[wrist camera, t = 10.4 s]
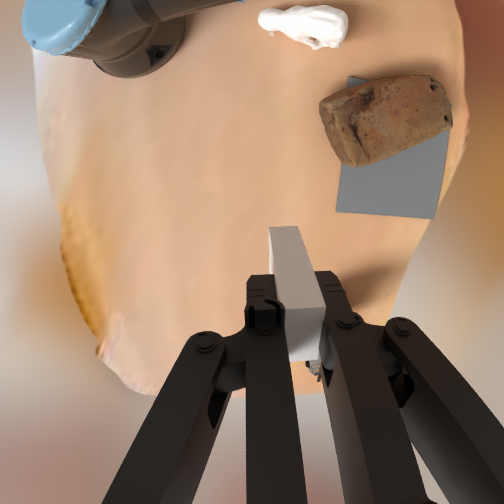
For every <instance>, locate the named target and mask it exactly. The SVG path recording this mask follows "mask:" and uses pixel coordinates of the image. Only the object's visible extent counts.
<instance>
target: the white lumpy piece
mask: <svg viewBox="0 0 504 504" xmlns="http://www.w3.org/2000/svg"><path fill="white" fill-rule="evenodd" d="M258 22H259V25H260V26H261V27H262V28H263V29H265V30H268V32H269V34H270V35H272V34H273V32H272V31H281V32H283V33H284V34H285V35H287V36H288V37H290V38H292V39H293V40H295V41H298V42H302V43H304V44H307V45H310V46H312V49H314V50H317V49H320V48H322V47H331V48H336V47H340V45H341V43H342V41H343V40H344V39H345V36H346V33H347V31H348V16H347V14H346V13H345V12H344V11H342V10H340V9H337V8H333V7H332V6H329V5H318V6H312V7H304V6H294V7H291V8H289V9H287V10H285V11H283V10H279V9H276V8H268V9H265V10H263V11H261V12H260V14H259V16H258ZM271 33H272V34H271ZM274 34H275V33H274ZM274 34H273V35H274ZM310 37H313V38H316V40H315V41H314V42H313V41H312V40H311V38H310Z"/></svg>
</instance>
